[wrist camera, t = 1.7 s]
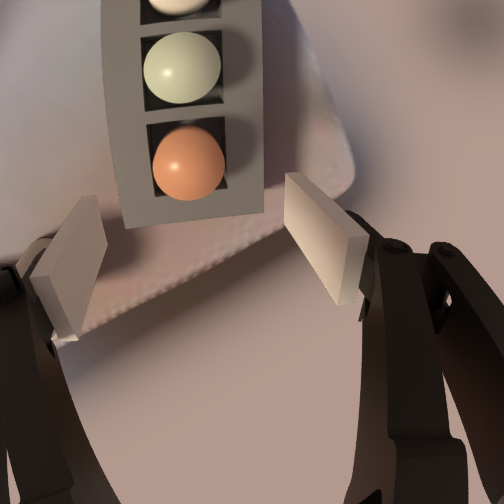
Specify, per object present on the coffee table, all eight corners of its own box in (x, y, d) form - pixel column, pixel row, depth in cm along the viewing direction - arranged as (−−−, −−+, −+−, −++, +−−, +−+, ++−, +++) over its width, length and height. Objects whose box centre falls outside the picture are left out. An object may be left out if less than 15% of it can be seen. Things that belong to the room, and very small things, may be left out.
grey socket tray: (133, 206, 29) (125, 229, 25) (115, -37, 16) (104, -55, 12) (252, 192, 31) (263, 212, 27) (247, -47, 18) (259, -67, 14)
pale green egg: (152, 103, 21) (146, 108, 18) (148, 43, 19) (142, 36, 15) (216, 97, 22) (221, 99, 19) (214, 37, 20) (219, 29, 16)
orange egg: (160, 186, 25) (157, 204, 22) (154, 128, 22) (148, 136, 19) (220, 179, 26) (226, 196, 23) (217, 121, 23) (223, 128, 20)
